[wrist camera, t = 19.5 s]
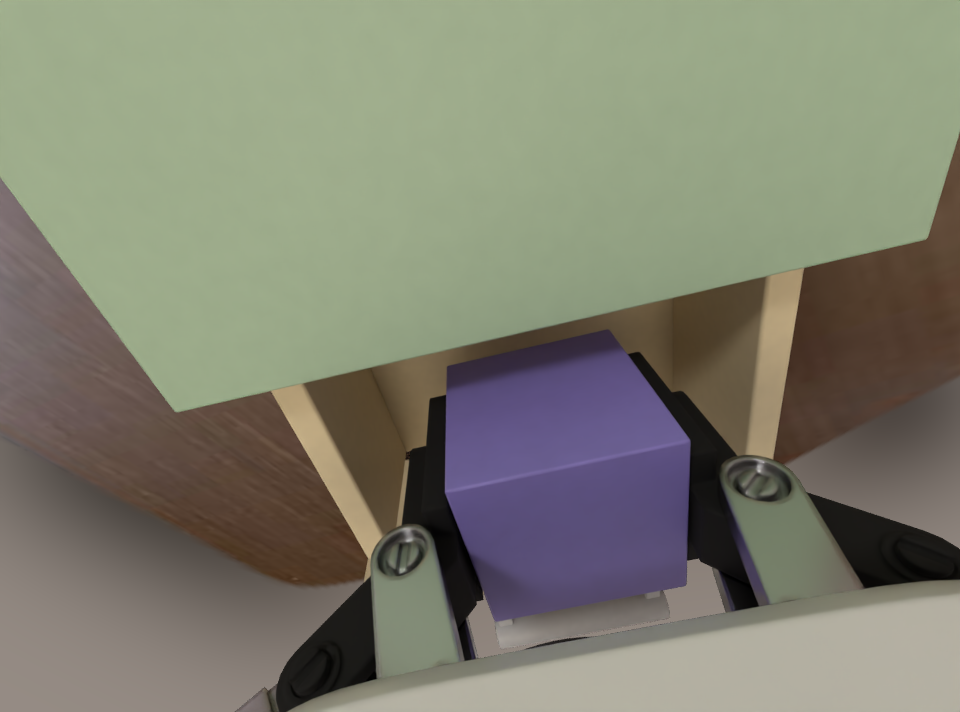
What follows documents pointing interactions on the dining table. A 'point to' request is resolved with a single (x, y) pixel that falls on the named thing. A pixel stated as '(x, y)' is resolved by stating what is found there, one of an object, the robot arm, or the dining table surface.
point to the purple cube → (565, 476)
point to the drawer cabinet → (455, 163)
